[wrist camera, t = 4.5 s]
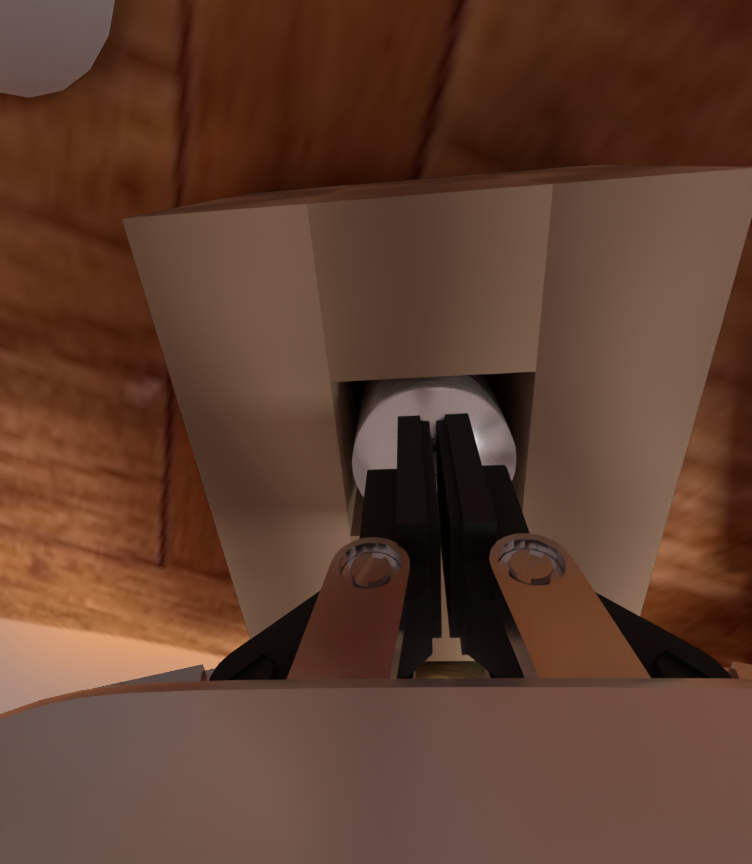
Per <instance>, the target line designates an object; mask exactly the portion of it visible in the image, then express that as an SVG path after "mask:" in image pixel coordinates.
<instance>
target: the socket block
mask: <svg viewBox="0 0 752 864" xmlns="http://www.w3.org/2000/svg"><path fill="white" fill-rule="evenodd" d="M751 218H752V167H730V166H640V165H585V166H573V167H561V168H548V169H536V170H524V171H512V172H500V173H488V174H476V175H464V176H452V177H440V178H428V179H415V180H403V181H391V182H379V183H367V184H355V185H343V186H331V187H319V188H307V189H295V190H282V191H270V192H258V193H247V194H242V195H237V196H232V197H227V198H222V199H217V200H212V201H207V202H202V203H197V204H192V205H187V206H182V207H177V208H172V209H167V210H162V211H157V212H152V213H147V214H142V215H137V216H132V217H127V218H122V221H123V224H124V228H125V231H126V234H127V238H128V241H129V244H130V247H131V251H132V254H133V257H134V261H135V264H136V267H137V270H138V274H139V277H140V280H141V283H142V287H143V290H144V293H145V297H146V300H147V303H148V306H149V310H150V313H151V316H152V320H153V323H154V326H155V329H156V333H157V336H158V339H159V342H160V346H161V349H162V352H163V356H164V359H165V362H166V365H167V369H168V372H169V375H170V379H171V382H172V385H173V388H174V392H175V395H176V398H177V401H178V405H179V408H180V411H181V415H182V418H183V421H184V424H185V428H186V431H187V434H188V437H189V441H190V444H191V447H192V451H193V454H194V457H195V460H196V464H197V467H198V470H199V474H200V477H201V480H202V483H203V487H204V490H205V493H206V496H207V500H208V503H209V506H210V510H211V513H212V516H213V519H214V523H215V526H216V529H217V533H218V536H219V539H220V542H221V546H222V549H223V552H224V555H225V559H226V562H227V565H228V569H229V572H230V575H231V578H232V582H233V585H234V588H235V592H236V595H237V598H238V601H239V605H240V608H241V611H242V614H243V618H244V621H245V624H246V628H247V631H248V634H249V637H250V639H252V638H253V637H254V636H256V635H257V634H259V633H260V632H262V631H263V630H264V629H266V628H267V627H269V626H270V625H272V624H273V623H274V622H276V621H277V620H279V619H280V618H282V617H283V616H284V615H286V614H287V613H289V612H290V611H292V610H293V609H294V608H296V607H297V606H299V605H300V604H302V603H303V602H304V601H306V600H307V599H309V598H310V597H312V596H313V595H314V594H316V593H317V592H319V591H320V590H321V587H322V585H323V582H324V579H325V577H326V574H327V571H328V569H329V566H330V564H331V561H332V559H333V558H334V556H335V554H336V553H337V552H338V551H339V550H340V549H341V548H342V547H343V546H345V545H346V544H348V543H350V542H352V541H354V540H358V539H359V538H360V529H361V520H362V511H363V502H364V497H363V496H362V494H361V493H360V491H359V489H358V487H357V485H356V482H355V479H354V475H353V470H352V457H353V449H354V443H355V437H356V431H357V425H358V419H359V413H360V407H361V401H362V395H363V389H364V383H365V380H381V379H401V378H420V377H440V376H459V375H478V374H487V376H488V378H489V381H490V383H491V386H492V388H493V391H494V393H495V396H496V398H497V401H498V403H499V406H500V408H501V410H502V413H503V415H504V418H505V420H506V423H507V425H508V428H509V430H510V433H511V435H512V438H513V441H514V444H515V449H516V468H515V473H514V476H513V480H512V484H513V486H514V489H515V492H516V495H517V498H518V501H519V504H520V507H521V509H522V512H523V515H524V518H525V521H526V524H527V527H528V530H529V533H530V534H535V535H541V536H544V537H546V538H549V539H551V540H554V541H555V542H557V543H558V544H560V545H561V546H563V547H564V548H565V549H566V550H567V551H568V553H569V554H570V555H571V556H572V558H573V559H574V561H575V562H576V564H577V565H578V567H579V568H580V570H581V571H582V573H583V574H584V576H585V577H586V579H587V581H588V582H589V584H590V585H591V587H592V588H593V590H594V591H595V592H596V593H598V594H600V595H602V596H604V597H606V598H607V599H609V600H611V601H613V602H615V603H616V604H618V605H620V606H622V607H624V608H626V609H627V610H629V611H631V612H633V613H635V614H636V615H638V616H640V614H641V610H642V607H643V603H644V600H645V596H646V592H647V589H648V585H649V582H650V578H651V575H652V571H653V567H654V564H655V560H656V557H657V553H658V550H659V546H660V543H661V539H662V535H663V532H664V528H665V525H666V521H667V518H668V514H669V510H670V507H671V503H672V500H673V496H674V493H675V489H676V486H677V482H678V478H679V475H680V471H681V468H682V464H683V461H684V457H685V454H686V450H687V446H688V443H689V439H690V436H691V432H692V429H693V425H694V421H695V418H696V414H697V411H698V407H699V404H700V400H701V397H702V393H703V389H704V386H705V382H706V379H707V375H708V372H709V368H710V364H711V361H712V357H713V354H714V350H715V347H716V343H717V340H718V336H719V332H720V329H721V325H722V322H723V318H724V315H725V311H726V307H727V304H728V300H729V297H730V293H731V290H732V286H733V283H734V279H735V275H736V272H737V268H738V265H739V261H740V258H741V254H742V250H743V247H744V243H745V240H746V236H747V233H748V229H749V226H750V222H751ZM441 613H442V638H432V646H433V654H432V655H431V656H430V657H429V658H428V659H427V660H426V661H475V660H474V659H472V658H471V657H470V656H469V655H462V652H461V644H460V638H450V634H449V624H448V615H447V605H446V595H445V585H444V576H443V566H442V556H441Z"/></svg>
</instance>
